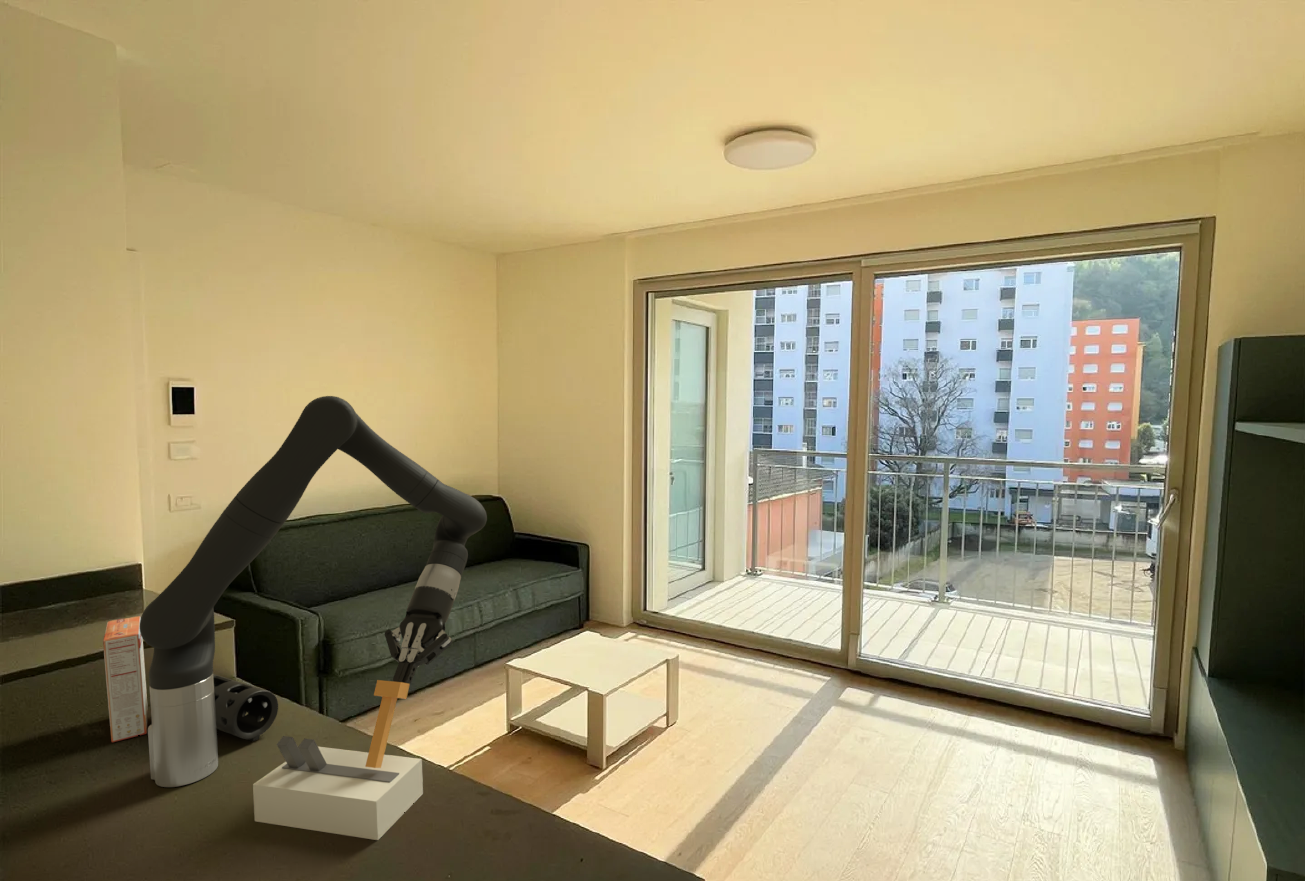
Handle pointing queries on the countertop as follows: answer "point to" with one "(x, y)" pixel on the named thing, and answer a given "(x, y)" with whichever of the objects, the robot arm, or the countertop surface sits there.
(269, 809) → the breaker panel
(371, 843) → the countertop surface
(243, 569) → the robot arm
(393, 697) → the lever
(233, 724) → the muzzle brake
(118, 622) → the cracker box
